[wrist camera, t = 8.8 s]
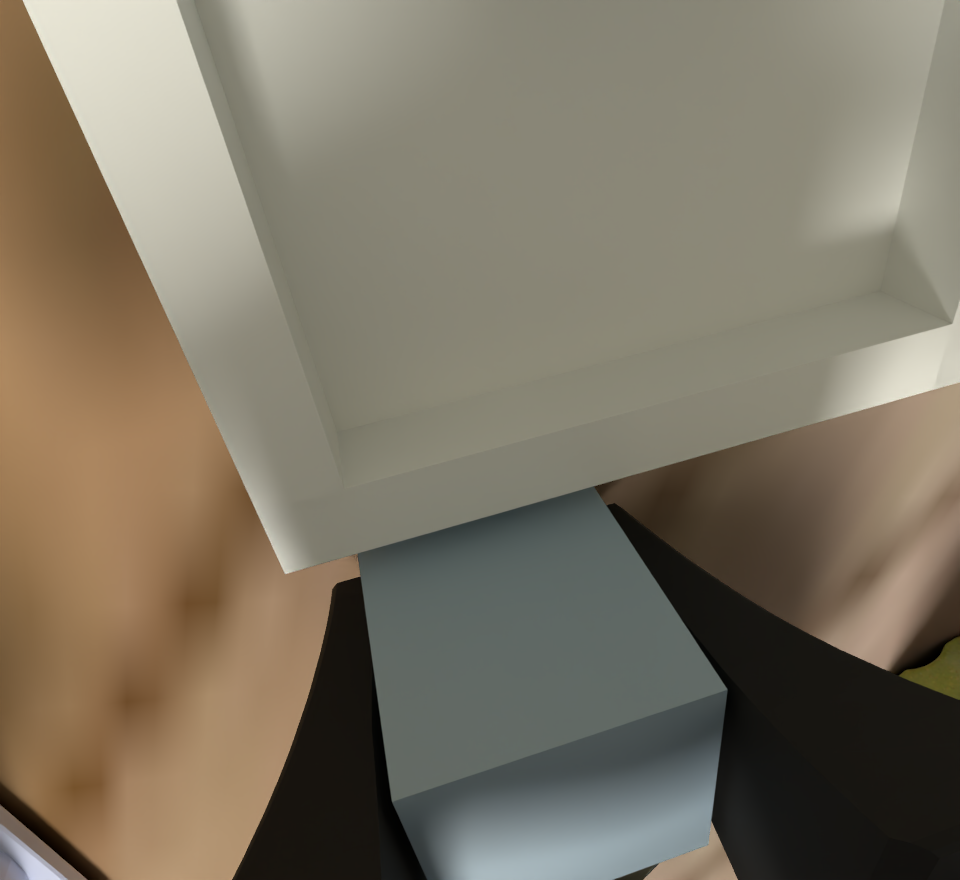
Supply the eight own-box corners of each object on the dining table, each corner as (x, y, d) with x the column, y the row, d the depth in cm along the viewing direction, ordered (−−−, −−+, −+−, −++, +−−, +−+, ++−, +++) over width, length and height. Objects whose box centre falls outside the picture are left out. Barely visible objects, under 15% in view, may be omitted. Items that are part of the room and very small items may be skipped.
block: (394, 622, 14) (453, 938, 9) (347, 480, 12) (391, 802, 7) (567, 570, 15) (708, 845, 10) (553, 425, 12) (727, 690, 8)
